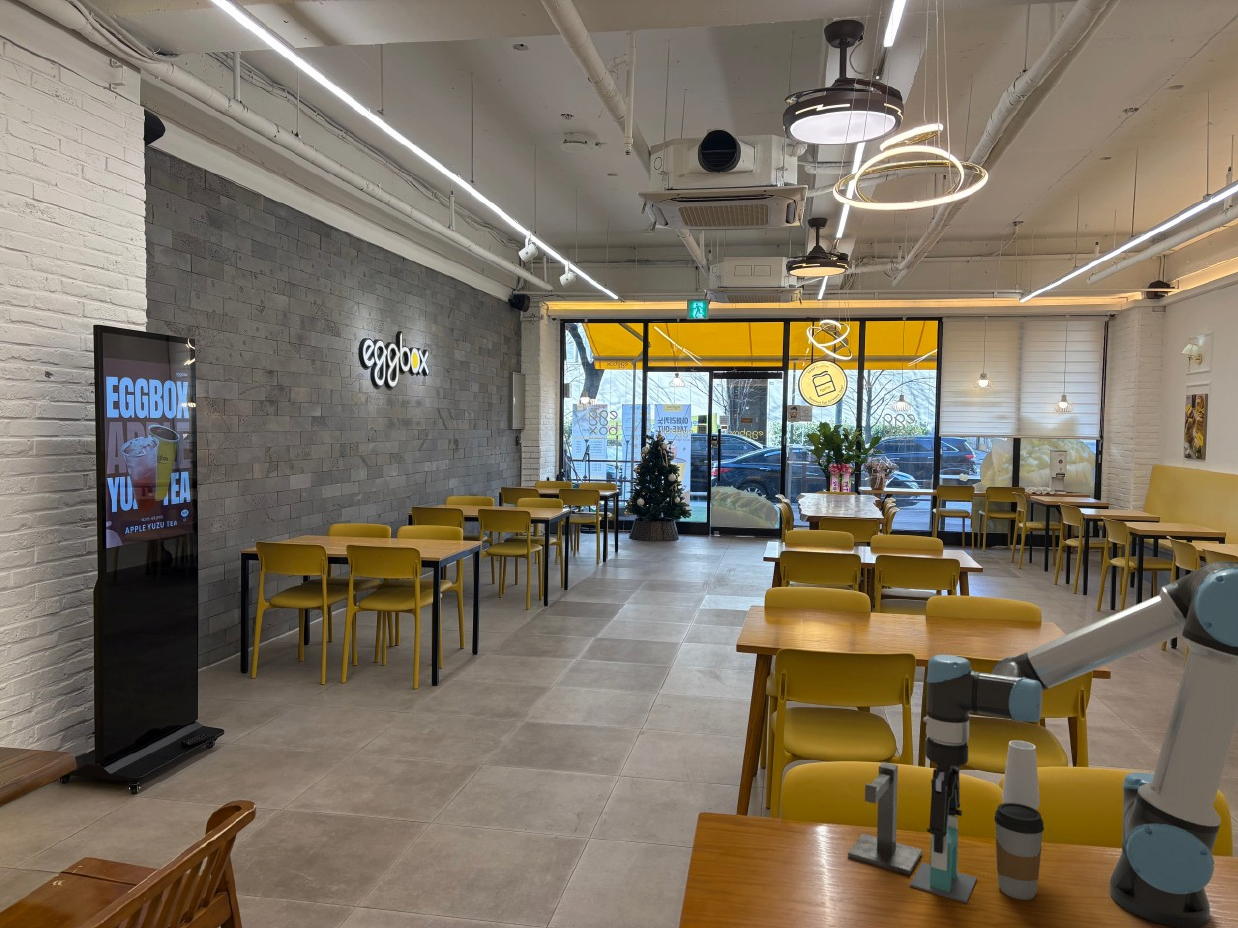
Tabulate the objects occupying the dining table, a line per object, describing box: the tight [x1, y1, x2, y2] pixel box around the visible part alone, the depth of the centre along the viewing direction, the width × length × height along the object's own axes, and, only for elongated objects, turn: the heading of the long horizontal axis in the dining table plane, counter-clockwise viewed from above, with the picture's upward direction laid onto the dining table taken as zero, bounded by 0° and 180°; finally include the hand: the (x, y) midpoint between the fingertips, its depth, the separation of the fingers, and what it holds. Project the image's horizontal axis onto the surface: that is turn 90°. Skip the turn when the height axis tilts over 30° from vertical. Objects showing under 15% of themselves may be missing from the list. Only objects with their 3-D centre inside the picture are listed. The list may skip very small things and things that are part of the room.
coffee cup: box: [993, 802, 1045, 901], centre depth 150 cm, size 8×8×15 cm
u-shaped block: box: [929, 827, 959, 892], centre depth 153 cm, size 7×4×9 cm, turn 147°
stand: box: [847, 761, 923, 876], centre depth 160 cm, size 12×16×18 cm
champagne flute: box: [1001, 740, 1041, 811], centre depth 160 cm, size 7×7×24 cm
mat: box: [909, 862, 978, 904], centre depth 153 cm, size 10×10×1 cm
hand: (944, 857), depth 153 cm, fingers open, 8 cm apart
